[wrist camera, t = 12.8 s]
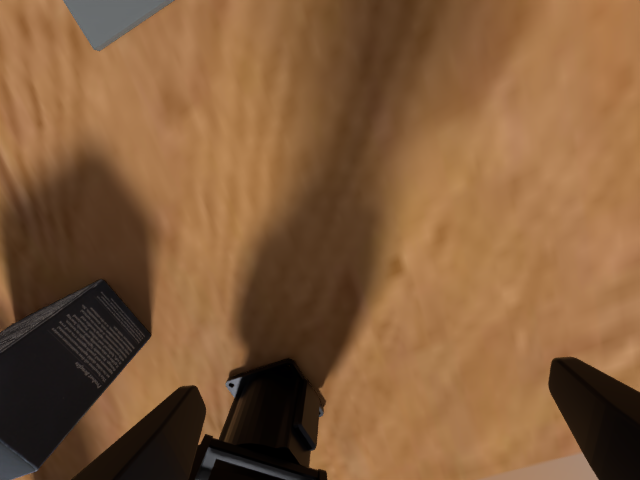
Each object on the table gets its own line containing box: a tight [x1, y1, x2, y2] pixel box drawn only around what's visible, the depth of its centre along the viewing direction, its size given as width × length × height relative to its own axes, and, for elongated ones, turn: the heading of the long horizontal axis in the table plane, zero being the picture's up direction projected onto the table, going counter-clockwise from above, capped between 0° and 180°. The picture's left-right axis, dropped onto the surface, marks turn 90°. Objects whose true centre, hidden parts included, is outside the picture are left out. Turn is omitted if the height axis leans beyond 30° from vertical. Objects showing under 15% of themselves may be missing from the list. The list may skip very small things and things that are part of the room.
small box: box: [0, 279, 151, 480], centre depth 20 cm, size 11×6×10 cm, turn 117°
